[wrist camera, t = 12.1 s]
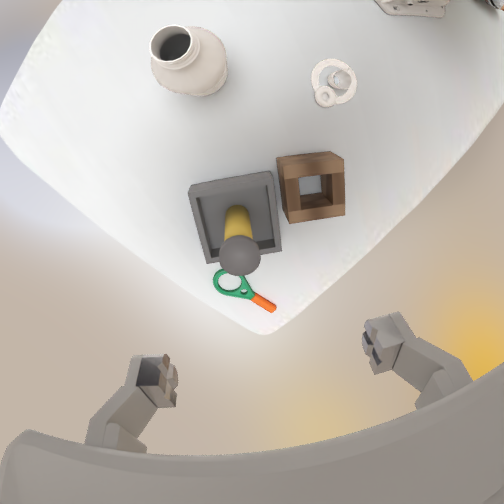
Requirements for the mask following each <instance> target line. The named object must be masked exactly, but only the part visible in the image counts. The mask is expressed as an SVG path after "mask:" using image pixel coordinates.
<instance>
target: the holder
mask: <svg viewBox="0 0 504 504" xmlns="http://www.w3.org/2000/svg"><path fill="white" fill-rule="evenodd" d="M276 159H277V167H278V175H279V183H280V191H281V199H282V208H283V211H284V213H285V215H286V218H287V220H288V222H289V224H292V223H299V222H305V221H311V220H317V219H324V218H330V217H337V216H344V215H345V179H344V159H342V158H341V157H339V156H337V155H336V154H334V153H332V152H331V151H329V152H318V153H309V154H300V155H292V156H285V157H277V158H276ZM314 175H321V187H322V193H315V194H308V195H301V196H300V193H299V182H298V178H299V177H306V176H314Z"/></svg>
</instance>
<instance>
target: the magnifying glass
mask: <svg viewBox="0 0 504 504" xmlns="http://www.w3.org/2000/svg"><path fill="white" fill-rule="evenodd" d="M226 273H227V272H226V271H225V270H224V269H220V270H219V271H217V272H216V273H215V275H214V278H213V284H214V287H215V288H216V290H217V291H218V292H220V293H221V294H224V295H227V296H232V297H238V298H244V299H249V300H251V301H253V302H254V303H256V304H257V305H259V306H261V307H262V308H264V309H265V310H267V311H269V312H270V313H273V312H274V311H275V310H276V308H277V307H276V306H275V305H274V304H272V303H271V302H269V301H267V300H266V299H264V298H263V297H261V296H260V295H258V294H257V293H255V292H253V290H252V289H251V287H250V285H249V284H248V282H247V280H246V278H245V277H244V276H239V277H240V278H241V280H242V283H241V285H240V286H239V287H238V288H237V289H235V290H225V289H223V288H221V287H220V286H219V284H218V279H219V277H220V276H221V275H223V274H226ZM243 289H246V290H247V292H245V293H243V292H241V290H243Z"/></svg>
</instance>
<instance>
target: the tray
mask: <svg viewBox="0 0 504 504" xmlns="http://www.w3.org/2000/svg"><path fill="white" fill-rule="evenodd" d="M188 196H189V200H190V204H191V208H192V212H193V215H194V219H195V223H196V227H197V230H198V234H199V238H200V241H201V245H202V248H203V252H204V256H205V259H206V263H207V264H209V263H215V262H219V252H220V247H221V245H222V244H223V242H224V238H225V214H226V211H227V209H228V208H229V207H231V206H233V205H241V206H244V207H245V208H246V209H247V210H248V212H249V217H250V224H251V230H252V236H253V240H254V241H255V242H256V243H257V245H258V247H259V251H260V255H263V254H268V253H274V252H280V251H282V247H281V238H280V230H279V221H278V213H277V205H276V197H275V189H274V182H273V177H272V175H271V173H270V171H267V172H260V173H254V174H248V175H242V176H236V177H231V178H225V179H220V180H215V181H210V182H205V183H200V184H195V185H191V187H190V189H189V191H188Z"/></svg>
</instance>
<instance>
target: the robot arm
mask: <svg viewBox="0 0 504 504" xmlns="http://www.w3.org/2000/svg"><path fill="white" fill-rule="evenodd" d="M374 1H376V2H377V3H378V5H379V6H380V7H381V8H382V9H383V10H384V12H386V13H387V14H389V15H410V16H425V17H436V18H441V17H443V16H444V14H445V5H447V4H448V3H449V2H450V0H374ZM394 8H395V10H394ZM364 327H365V329H366V331H365V332H364V333H363V336H362V345H363V349H364V351H365V354H366V355H368V356H369V357H371V358H370V362H369V363H370V365H371V368H372V370H373V372H374V374H379V373H382V372H385V371H389V370H392V369H393V371H394V372H395V373H396V374H398V375H399V376H400V377H402V378H403V379H404V380H405V381H407V382H408V383H410V384H411V385H412V386H413V387H415V388H416V389H418V390H419V391H420V392H421V394H420V396H419V397H418V399H417V400H416V402H415V406H416V408H417V410H416V411H413V412H411V413H409V414H406V415H404V416H401V417H399V418H396V419H393V420H391V421H388V422H385V423H382V424H380V425H377V426H374V427H371V428H367V429H364V430H361V431H358V432H354V433H351V434H347V435H344V436H340V437H336V438H332V439H328V440H324V441H320V442H315V443H311V444H306V445H300V446H295V447H289V448H283V449H277V450H270V451H262V452H253V453H242V454H229V455H201V456H188V455H185V456H184V455H160V454H147V453H146V451H147V447H146V446H145V445H144V444H143V443H142V442H140V441H139V440H138V439H137V438H138V437H139V435H140V434H141V432H142V431H143V429H144V428H145V427H146V425H147V424H148V422H149V421H150V419H151V418H152V416H153V415H154V414H155V412H156V411H157V408H167V407H176V397H177V394H176V392H175V391H174V389H175V388H176V387H177V386H178V374H177V371H176V368H175V366H174V365H173V364H171V363H170V358H169V357H168V355H167V354H155V355H134V356H133V357H132V358H131V361H130V365H129V369H128V373H127V377H126V381H125V386H121V387H120V388H119V390H118V391H117V392H116V393H115V394H114V395H113V396H112V397H111V398H110V399H109V400H108V401H107V402H106V403H105V404H104V405H103V406H102V408H100V410H99V411H98V412H97V413H96V414H95V415H94V416H93V417H92V418H91V419H90V422H89V426H88V430H87V435H86V439H85V444H81V443H76V442H72V441H68V440H64V439H60V438H56V437H53V436H49V435H46V434H43V433H40V432H37V431H34V430H25V431H24V432H22V433H21V434H20V435H19V436H18V437H16V438H15V439H14V440H13V441H12V442H11V443H10V444H9V445H8V447H7V448H6V451H5V453H4V456H3V458H2V462H1V465H0V504H504V362H503V363H502V364H500V365H499V366H497V367H496V368H495V369H493V370H491V371H490V372H488V373H486V374H485V375H483V376H482V377H480V378H478V379H477V380H475V381H473V380H472V378H471V377H470V375H469V373H468V372H467V370H466V368H465V367H464V365H463V363H462V362H461V360H460V359H458V358H457V357H454V356H453V355H451V354H449V353H447V352H445V351H444V350H442V349H440V348H438V347H436V346H434V345H432V344H431V343H429V342H427V341H425V340H423V339H421V338H416V337H415V335H414V334H413V332H412V330H411V329H410V327H409V326H408V324H407V322H406V321H405V319H404V318H403V316H402V315H401V313H400V312H395V313H392V314H388V315H383V316H380V317H377V318H373V319H370V320H367V321H366V322H365V325H364Z"/></svg>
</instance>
